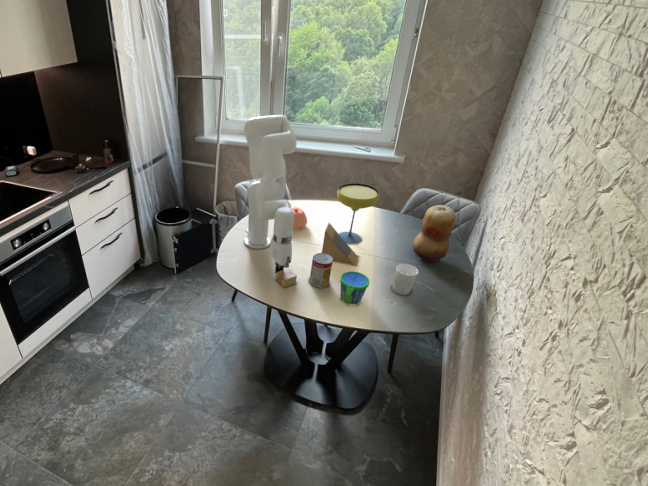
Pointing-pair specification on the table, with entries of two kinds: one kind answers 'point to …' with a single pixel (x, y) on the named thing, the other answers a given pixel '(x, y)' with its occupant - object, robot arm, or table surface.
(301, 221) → the sugar bowl
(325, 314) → the table surface
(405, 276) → the white cup
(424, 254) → the butternut squash
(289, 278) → the block
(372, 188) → the cocktail glass
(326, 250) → the sandwich container
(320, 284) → the canned food
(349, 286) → the snack cup
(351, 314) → the table surface
